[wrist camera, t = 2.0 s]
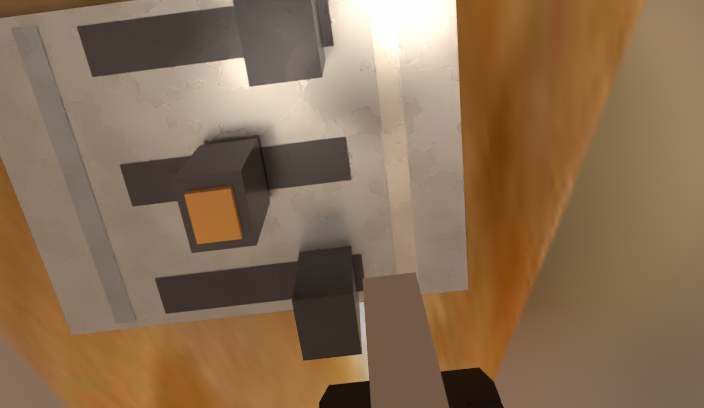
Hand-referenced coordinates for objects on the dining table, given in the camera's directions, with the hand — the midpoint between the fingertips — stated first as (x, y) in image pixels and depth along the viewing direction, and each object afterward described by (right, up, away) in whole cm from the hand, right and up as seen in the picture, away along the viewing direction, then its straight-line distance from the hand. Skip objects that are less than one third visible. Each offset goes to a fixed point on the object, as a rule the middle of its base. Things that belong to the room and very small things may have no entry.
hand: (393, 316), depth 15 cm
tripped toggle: (-7, +5, +13) cm, 16 cm away
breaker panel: (-7, +6, +15) cm, 18 cm away
